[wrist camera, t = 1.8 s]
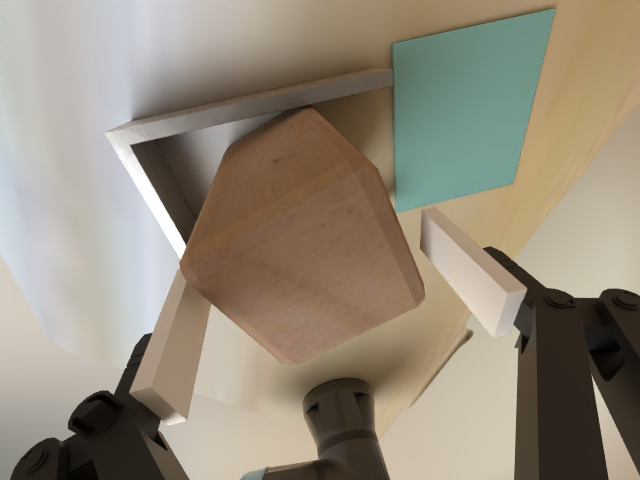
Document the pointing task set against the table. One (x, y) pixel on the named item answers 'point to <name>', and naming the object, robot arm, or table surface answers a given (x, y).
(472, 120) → the pad
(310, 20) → the table surface
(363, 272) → the wooden block
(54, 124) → the table surface
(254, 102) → the chute
